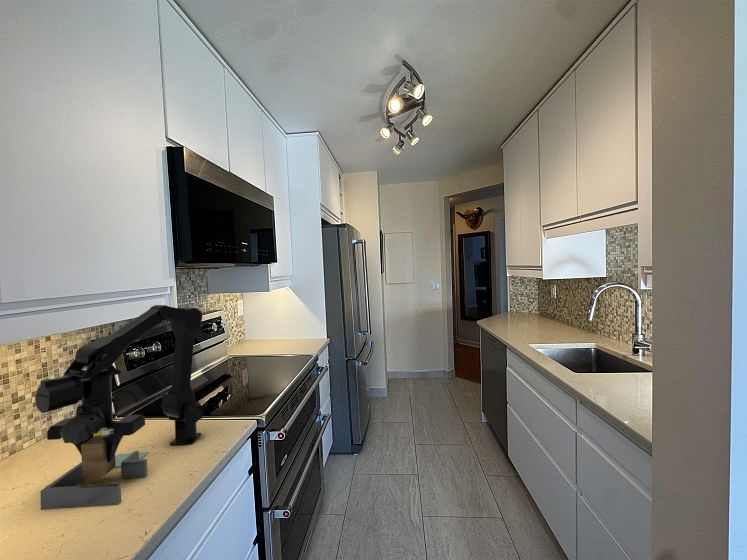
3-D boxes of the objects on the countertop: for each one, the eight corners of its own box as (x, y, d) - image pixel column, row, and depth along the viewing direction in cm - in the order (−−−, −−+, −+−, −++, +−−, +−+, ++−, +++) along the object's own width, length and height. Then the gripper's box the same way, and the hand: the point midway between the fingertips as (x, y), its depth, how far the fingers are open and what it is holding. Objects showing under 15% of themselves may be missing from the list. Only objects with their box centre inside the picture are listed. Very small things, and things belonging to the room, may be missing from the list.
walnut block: (96, 468, 85) (95, 435, 85) (115, 466, 85) (114, 434, 85) (82, 478, 80) (81, 444, 80) (102, 477, 81) (101, 443, 81)
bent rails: (94, 469, 89) (93, 453, 89) (157, 465, 90) (156, 450, 90) (40, 509, 73) (40, 490, 73) (118, 504, 74) (117, 485, 74)
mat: (118, 454, 96) (118, 453, 96) (148, 453, 96) (148, 452, 96) (100, 468, 89) (100, 467, 89) (133, 466, 89) (133, 465, 89)
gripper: (23, 412, 74) (26, 485, 74) (115, 408, 75) (118, 479, 75) (65, 394, 85) (67, 457, 85) (145, 391, 86) (147, 453, 87)
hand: (99, 462), depth 83 cm, fingers closed on walnut block, 4 cm apart
